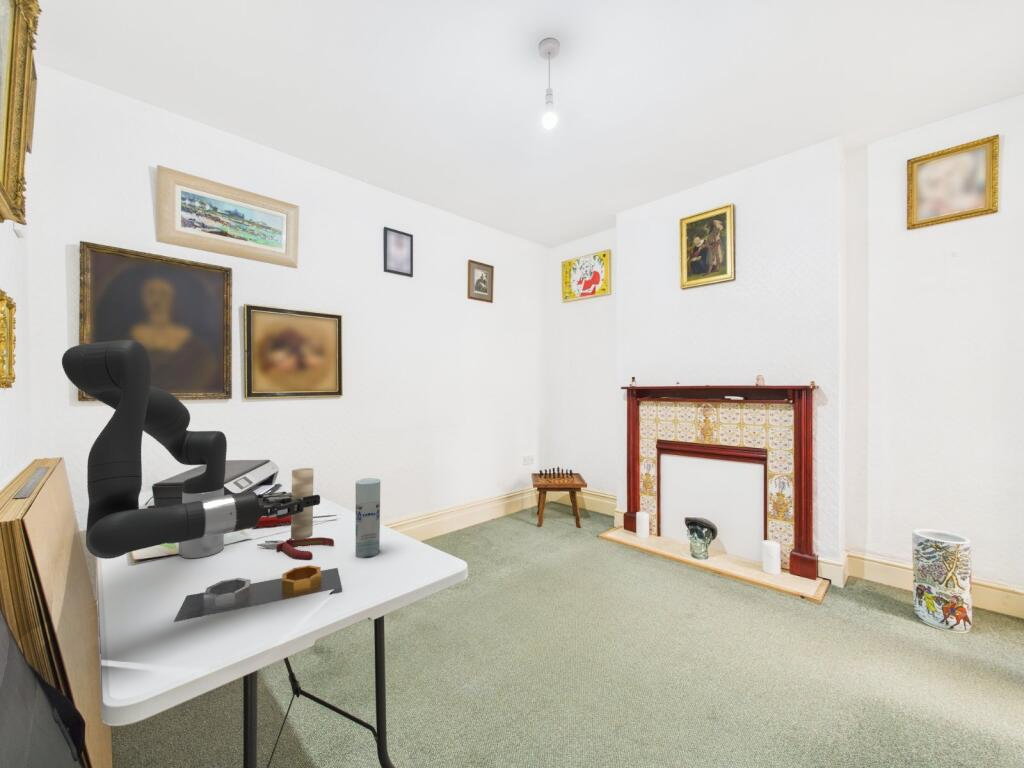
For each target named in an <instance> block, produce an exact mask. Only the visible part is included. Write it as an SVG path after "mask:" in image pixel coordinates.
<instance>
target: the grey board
mask: <svg viewBox="0 0 1024 768" xmlns="http://www.w3.org/2000/svg"><path fill="white" fill-rule="evenodd" d="M281 575H282V577H281V578H274V579H270V580H264V581H260V582H259V581H257V582H253V583H251V579H248V578H244V577H243V578H242V577H236V578H230V579H224V580H221V581H218V582H216V583H214V584H212V585H210V586H207V587H206V588H205V591H204V592H199V593H194V594H190V595H189V594H188V595H186V596H185V598H184V600H183V602H182V604H181V606H180V608H179V610H178V612H177V614H176V617H175V618H174V620H173V623H176V622H181V621H186V620H190V619H195V618H196V619H197V618H200V617H201V618H202V617H205V616H211V615H215V614H219V613H225V612H229V611H231V612H232V611H235V610H240V609H243V608H244V609H245V608H249V607H254V606H255V607H256V606H259V605H264V604H269V603H273V602H274V603H275V602H279V601H284V600H290V599H292V598H298V597H303V596H308V595H312V594H317V593H321V592H328V591H330V593H329V595H333V594H337V593H342V592H343V586H342V582H341V577H340V573H339V568H338V567H335V568H330V569H325V570H324V569H323V570H322V569H321V566H316V565H304V566H298V567H293V568H292V569H289V570H288V571H286V572H284V573H282V574H281Z"/></svg>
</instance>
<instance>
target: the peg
mask: <svg viewBox="0 0 1024 768" xmlns="http://www.w3.org/2000/svg"><path fill="white" fill-rule="evenodd" d="M314 472H315V471H314V468H311V467H304V468H295V469H292V470H291V493H292V497H291V498H299V497H307V496H312V495H314ZM295 507H297V504H296V505H295ZM313 510H314V506H310V507H305V508H304V510H303V512H300V513H297V514H294V515H291V523H290V538H291V539H292V540H300V539H306V538H312V536H313V533H314V532H313V530H314V526H313V525H314V518H313V517H314V511H313Z"/></svg>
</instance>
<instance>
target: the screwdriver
mask: <svg viewBox="0 0 1024 768" xmlns="http://www.w3.org/2000/svg"><path fill="white" fill-rule="evenodd" d="M335 516H336V517H337V516H338V515H337V514H327V515H318V516H317V515H316V516H313V519H321V518H329V517H331V518H332V517H335ZM282 524H284V525H285V524H291V515H290V516H287V517H284V518H281V519H277V515H276V516H275V517H267V516H262V517H261V518H260V519H259V522H258V524H257V526H255V527H254V528H253V529H256V527H259V528H267V527H266V526H270V527H275V525H276V526H279V525H282Z"/></svg>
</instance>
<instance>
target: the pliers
mask: <svg viewBox="0 0 1024 768" xmlns="http://www.w3.org/2000/svg"><path fill="white" fill-rule="evenodd" d="M334 544H335V540H334V538H332V537H331V538H330V537H322V536H321V537H320V536H319V537H309V538H306V539H300V540H295V539H291V537H289V539H286V540H285V541H284V540H282V539H281V540H265V541H264V542H263V543H257V544H256V546H257V547H261V548H265V549H269V550H276V553H281V552H283V553H284V554H286V555H287V556H289V558H291V557H292V558H291V559H294V560H300V561H311V560H312V559H313V556H314V555H313V552H312V551H310V550H300V549H296V548H299V547H298V546H302V547H310V545H311V546H327V547H333V546H334ZM280 551H281V552H280Z"/></svg>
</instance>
